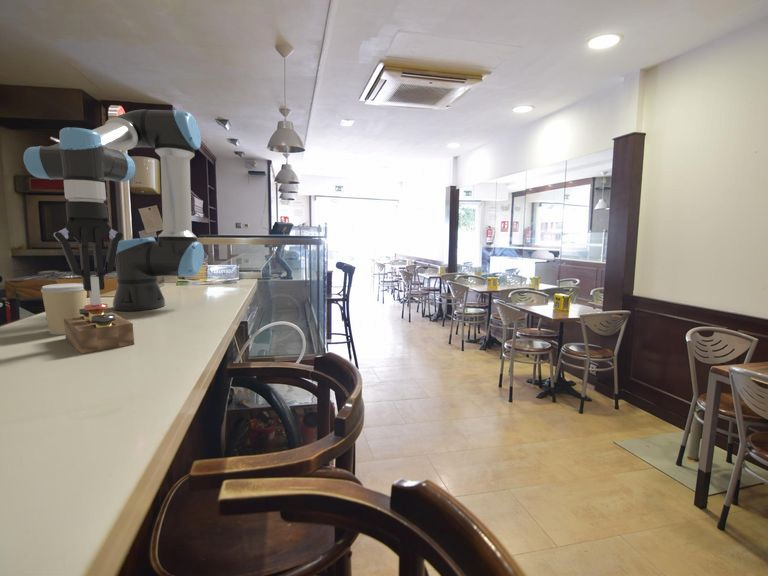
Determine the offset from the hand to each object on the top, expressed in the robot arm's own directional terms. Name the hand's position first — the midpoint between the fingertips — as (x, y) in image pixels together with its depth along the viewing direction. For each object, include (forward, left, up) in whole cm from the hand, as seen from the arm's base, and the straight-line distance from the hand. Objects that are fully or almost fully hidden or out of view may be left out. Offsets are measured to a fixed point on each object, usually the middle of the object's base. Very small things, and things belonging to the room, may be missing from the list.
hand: (95, 304), depth 94 cm
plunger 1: (0, -6, -9) cm, 10 cm away
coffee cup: (+3, -17, -9) cm, 20 cm away
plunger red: (0, 0, -7) cm, 7 cm away
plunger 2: (0, +6, -9) cm, 10 cm away
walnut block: (0, 0, -9) cm, 9 cm away
